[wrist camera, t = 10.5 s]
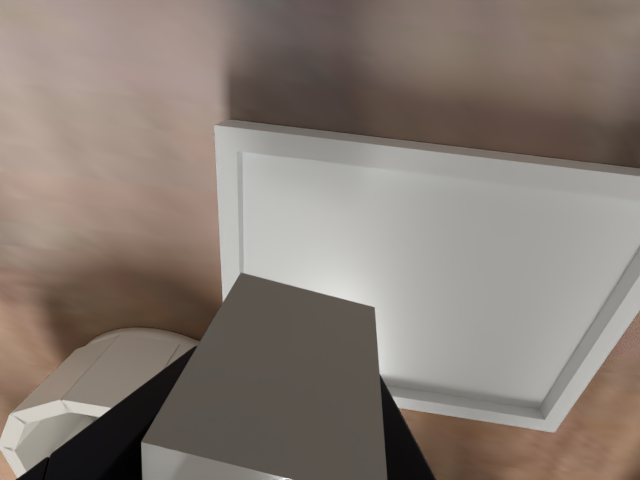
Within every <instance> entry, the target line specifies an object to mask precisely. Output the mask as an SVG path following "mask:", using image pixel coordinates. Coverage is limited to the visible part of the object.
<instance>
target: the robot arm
mask: <svg viewBox="0 0 640 480" xmlns="http://www.w3.org/2000/svg"><path fill="white" fill-rule="evenodd" d="M197 346H198V345H196V346H194V347H192V348H191V349H190V350H188V351H187V352H186V353H184V354H183V355H182V356H180V357H179V358H178V359H176V360H175V361H174V362H172V363H171V364H170V365H168V366H167V367H166V368H164V369H163V370H162V371H160V372H159V373H158V374H156V375H155V376H154V377H152V378H151V379H150V380H148V381H147V382H146V383H144V384H143V385H142V386H140V387H139V388H138V389H136V390H135V391H134V392H132V393H131V394H130V395H128V396H127V397H126V398H124V399H123V400H122V401H120V402H119V403H118V404H116V405H115V406H114V407H112V408H111V409H110V410H108V411H107V412H106V413H104V414H103V415H102V416H100V417H99V418H98V419H96V420H95V421H94V422H92V423H91V424H90V425H88V426H87V427H86V428H84V429H83V430H82V431H80V432H79V433H78V434H76V435H75V436H74V437H72V438H71V439H70V440H68V441H67V442H66V443H64V444H63V445H62V446H60V447H59V448H58V449H56V450H55V451H54V452H52V453H51V455H50V457H46V458H44V459H43V460H41V461H40V462H39V463H37V464H36V465H35V466H33V467H32V468H31V469H29V470H28V471H27V472H25V473H24V474H23V475H21V476H20V477H19V478H17V479H16V480H142V451H141V441H142V440H143V438H144V436H145V435H146V433H147V431H148V430H149V428H150V426H151V424H152V423H153V421H154V419H155V418H156V416H157V414H158V413H159V411H160V409H161V407H162V406H163V404H164V402H165V401H166V399H167V397H168V395H169V394H170V392H171V390H172V389H173V387H174V385H175V384H176V382H177V380H178V378H179V377H180V375H181V373H182V372H183V370H184V368H185V367H186V365H187V363H188V361H189V360H190V358H191V356H192V355H193V353H194V351H195V349H196V348H197ZM380 386H381V400H382V414H383V428H384V442H385V456H386V469H387V480H436V478H435V476H434V474H433V472H432V470H431V468H430V467H429V465H428V463H427V461H426V459H425V457H424V455H423V453H422V452H421V450H420V448H419V446H418V444H417V442H416V440H415V438H414V437H413V435H412V433H411V431H410V429H409V427H408V425H407V423H406V422H405V420H404V418H403V416H402V414H401V412H400V410H399V408H398V407H397V405H396V403H395V401H394V399H393V397H392V395H391V393H390V392H389V390H388V388H387V386H386V384H385V382H384V380H383V378H382V377H381V375H380Z"/></svg>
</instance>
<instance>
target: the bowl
mask: <svg viewBox="0 0 640 480" xmlns="http://www.w3.org/2000/svg"><path fill="white" fill-rule="evenodd" d="M199 343H200V341H197V340H195V339H192V338H190V337H187V336H184V335H181V334H178V333H174V332H171V331H166V330H161V329H154V328H123V329H117V330H113V331H109V332H106V333H104V334H101V335H99V336H97V337H95V338H94V339H92V340H91V341H89V342H88V343H87V344H86V345H85V346H84V347H81V348H78V349H76V350H75V351H74V352H73V353H72V354H71V355H70V356H69V357H68V358H67V359H66V360H65V361H64V362H63V363H62V364H60V365H59V366H58V367H57V368H56V369H55V370H54V371H53V372H52V373H51V374H50V375H49V376H48V377H47V378H46V379H45V380H44V381H43V382H42V383H41V384H40V385H39V386H38V387H37V388H36V389H35V390H34V391H33V392H32V393H31V394H30V395H29V396H28V397H27V398H26V399H25V400H24V401H23V402H22V403H21V404H20V405H19V406H18V407H17V408H16V409H14V410H13V411H12V412H11V413H10V415H9V418H8V420H7V423H6V425H5V428H4V431H3V433H2V436H1V439H0V450H1V451H2V453H3V455H4V456H5V458H6V460H7V461H8V463H9V465H10V466H11V468H12V470H13V471H14V473H15V475H16V476H17V478H19V477H20V476H21V475H23V474H24V473H25V472H27V471H28V470H29V469H31V468H32V467H33V466H35V465H36V464H37V463H39V462H40V461H41V460H43V459H44V458H46V457H50V455H51V453H52V452H54V451H55V450H56V449H58V448H59V447H60V446H62V445H63V444H64V443H66V442H67V441H68V440H70V439H71V438H72V437H74V436H75V435H76V434H78V433H79V432H80V431H82V430H83V429H84V428H86V427H87V426H88V425H90V424H91V423H92V422H94V421H95V420H96V419H98V418H99V417H100V416H102V415H103V414H104V413H106V412H107V411H108V410H110V409H111V408H112V407H114V406H115V405H116V404H118V403H119V402H120V401H122V400H123V399H124V398H126V397H127V396H128V395H130V394H131V393H132V392H134V391H135V390H136V389H138V388H139V387H140V386H142V385H143V384H144V383H146V382H147V381H148V380H150V379H151V378H152V377H154V376H155V375H156V374H158V373H159V372H160V371H162V370H163V369H164V368H166V367H167V366H168V365H170V364H171V363H172V362H174V361H175V360H176V359H178V358H179V357H180V356H182V355H183V354H184V353H186V352H187V351H188V350H190V349H191V348H192V347H194V346H196V345H198V344H199Z"/></svg>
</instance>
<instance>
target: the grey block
mask: <svg viewBox="0 0 640 480" xmlns="http://www.w3.org/2000/svg"><path fill="white" fill-rule="evenodd" d="M141 451H142V480H387V469H386V456H385V442H384V428H383V414H382V400H381V386H380V373H379V359H378V345H377V331H376V317H375V307H372V306H368V305H364V304H360V303H356V302H353V301H349V300H345V299H341V298H337V297H333V296H330V295H326V294H322V293H318V292H314V291H310V290H307V289H303V288H299V287H295V286H291V285H287V284H283V283H280V282H276V281H272V280H268V279H264V278H260V277H257V276H253V275H249V274H245V273H240V274H239V276H238V278H237V280H236V281H235V283H234V285H233V286H232V288H231V290H230V292H229V293H228V295H227V297H226V298H225V300H224V302H223V303H222V305H221V307H220V309H219V310H218V312H217V314H216V315H215V317H214V319H213V321H212V322H211V324H210V326H209V327H208V329H207V331H206V332H205V334H204V336H203V338H202V339H201V341H200V343H199V344H198V346H197V348H196V349H195V351H194V353H193V355H192V356H191V358H190V360H189V361H188V363H187V365H186V367H185V368H184V370H183V372H182V373H181V375H180V377H179V378H178V380H177V382H176V384H175V385H174V387H173V389H172V390H171V392H170V394H169V395H168V397H167V399H166V401H165V402H164V404H163V406H162V407H161V409H160V411H159V413H158V414H157V416H156V418H155V419H154V421H153V423H152V424H151V426H150V428H149V430H148V431H147V433H146V435H145V436H144V438H143V440H142V441H141Z"/></svg>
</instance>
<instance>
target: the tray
mask: <svg viewBox="0 0 640 480" xmlns="http://www.w3.org/2000/svg"><path fill="white" fill-rule="evenodd" d="M214 132H215V152H216V173H217V193H218V214H219V234H220V255H221V276H222V296H223V302H224V300H225V298H226V297H227V295H228V293H229V292H230V290H231V288H232V286H233V285H234V283H235V281H236V280H237V278H238V276H239V274H240V273H245V274H249V275H253V276H257V277H260V278H264V279H268V280H272V281H276V282H280V283H283V284H287V285H291V286H295V287H299V288H303V289H307V290H310V291H314V292H318V293H322V294H326V295H330V296H333V297H337V298H341V299H345V300H349V301H353V302H356V303H360V304H364V305H368V306H372V307H375V317H376V331H377V345H378V359H379V373H380V375H381V377H382V378H383V380H384V382H385V384H386V386H387V388H388V390H389V392H390V393H391V395H392V397H393V399H394V401H395V403H396V405H397V407H398V408H402V409H409V410H415V411H421V412H428V413H434V414H440V415H447V416H453V417H459V418H466V419H472V420H478V421H485V422H491V423H497V424H504V425H510V426H516V427H523V428H529V429H535V430H542V431H548V432H555V431H556V429H557V428H558V427H559V425H560V424H561V422H562V421H563V419H564V418H565V417H566V415H567V414H568V412H569V411H570V409H571V408H572V407H573V405H574V404H575V402H576V401H577V399H578V398H579V396H580V395H581V394H582V392H583V391H584V389H585V388H586V386H587V385H588V384H589V382H590V381H591V379H592V378H593V376H594V375H595V373H596V372H597V371H598V369H599V368H600V366H601V365H602V363H603V362H604V361H605V359H606V358H607V356H608V355H609V353H610V352H611V351H612V349H613V348H614V346H615V345H616V343H617V342H618V340H619V339H620V338H621V336H622V335H623V333H624V332H625V330H626V329H627V328H628V326H629V325H630V323H631V322H632V320H633V319H634V317H635V316H636V315H637V313H638V312H639V310H640V168H632V167H624V166H616V165H607V164H599V163H591V162H582V161H574V160H566V159H557V158H549V157H540V156H532V155H524V154H515V153H507V152H499V151H490V150H482V149H473V148H465V147H457V146H448V145H440V144H432V143H423V142H415V141H407V140H398V139H390V138H381V137H373V136H365V135H356V134H348V133H340V132H331V131H323V130H315V129H306V128H298V127H289V126H281V125H273V124H264V123H256V122H248V121H239V120H231V119H230V120H227V121H224V122H221V123H219V124H216V125H214Z"/></svg>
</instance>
